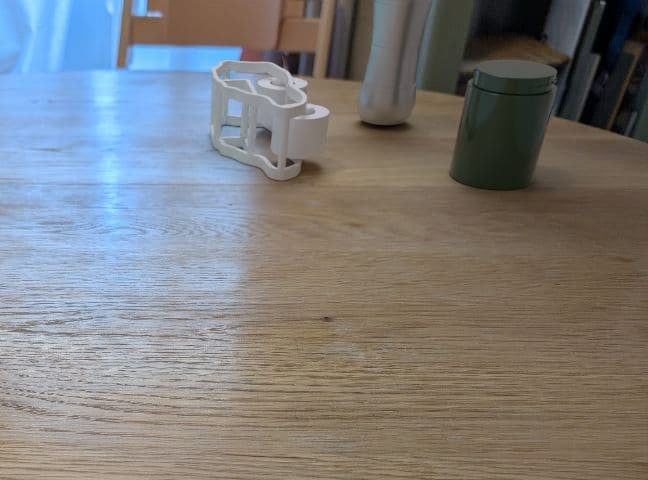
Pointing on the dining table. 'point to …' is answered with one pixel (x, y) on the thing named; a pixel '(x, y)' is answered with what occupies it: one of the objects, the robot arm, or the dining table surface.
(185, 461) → the dining table surface
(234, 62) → the car outline toy
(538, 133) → the green jar
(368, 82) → the plastic bottle
